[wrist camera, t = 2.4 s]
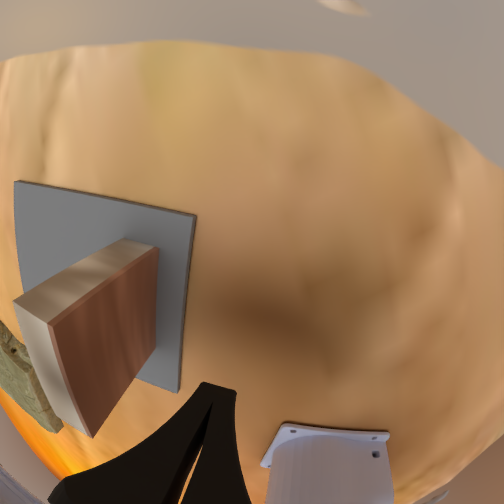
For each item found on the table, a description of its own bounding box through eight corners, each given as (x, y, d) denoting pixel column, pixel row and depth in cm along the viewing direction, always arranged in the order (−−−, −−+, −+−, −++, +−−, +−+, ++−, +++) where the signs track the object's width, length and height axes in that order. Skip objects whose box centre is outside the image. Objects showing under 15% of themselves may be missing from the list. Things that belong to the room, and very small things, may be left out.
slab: (159, 247, 14) (52, 327, 6) (155, 348, 16) (92, 438, 9) (122, 237, 14) (12, 301, 7) (124, 335, 17) (56, 415, 9)
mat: (196, 215, 14) (193, 217, 13) (179, 389, 18) (177, 393, 18) (18, 180, 15) (14, 181, 14) (33, 318, 19) (30, 321, 19)
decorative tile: (65, 425, 28) (55, 439, 25) (-9, 358, 28) (-20, 368, 25) (43, 349, 21) (23, 367, 18) (-33, 272, 22) (-49, 281, 19)
